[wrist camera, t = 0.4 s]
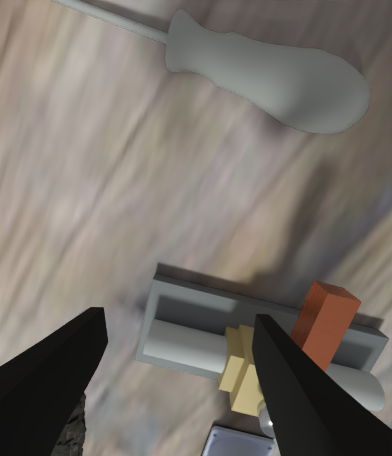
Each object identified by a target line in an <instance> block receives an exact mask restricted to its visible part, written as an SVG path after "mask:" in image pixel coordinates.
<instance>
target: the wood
mask: <svg viewBox="0 0 392 456" xmlns="http://www.w3.org/2000/svg"><path fill="white" fill-rule="evenodd" d="M85 399H86V396H85V395H84V393H83V395H82V397H81V398H80V400H79V402H78V404H77V406H76V407H75V409H74V411H73V413H72V415H71V416H70V418H69V420H68V422H67V424H66V425H65V427H64V429H63V431H62V433H61V435H60V437H59V439H58V441H57V443H56V445H55V447H54V449H53V451H52V453H51V455H50V456H82V452H83V448H82V446H83V443H84V438H85V432H86V427H85V423H84V413H83V412H84V405H85Z"/></svg>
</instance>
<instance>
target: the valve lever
mask: <svg viewBox="0 0 392 456" xmlns="http://www.w3.org/2000/svg"><path fill="white" fill-rule="evenodd" d="M360 304H361V301H360V300H359V299H357V298H356V297H355V296H353V295H352V294H351V293H349V292H348V291H347V290H345V289H344V288H341V287H337V286H333V285H330V284H326V283H322V282H318V281H314V282H313V284H312V286H311V288H310V291H309V293H308V295H307V298H306V300H305V302H304V304H303V307H302V309H301V311H300V314H299V316H298V318H297V320H296V323H295V325H294V327H293V329H292V332H291V334H290V337H291V339H292V340H293V341H294V342H295V343H296V344H297V345H298V346H299V347H300V348H301V349H302V350H303V351H304V352H305V353H306V354H307V355H308V356H309V357H310V358H311V359H312V360H313V361H314V362H315V363H316V364H317V365H318V366H319V367H320V368H321V369H322V370H323V371H326V370H327V368H328V366H329V364H330V362H331V360H332V358H333V356H334V354H335V352H336V350H337V348H338V346H339V344H340V343H341V341H342V339H343V337H344V335H345V333H346V331H347V329H348V327H349V325H350V323H351V321H352V319H353V317H354V316H355V314H356V312H357V310H358V308H359V306H360ZM257 414H258V418H259V422H260V427H261V430H262V431H263V433H264V434H266V435H267V436H269V437H272V438H276V436H275V433H274V430H273V427H272V423H271V420H270V417H269V414H268V410H267V407H266V404H265V400H264V399H263V400H261V401H260V402H259V404H258V406H257Z"/></svg>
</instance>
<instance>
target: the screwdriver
mask: <svg viewBox="0 0 392 456" xmlns="http://www.w3.org/2000/svg"><path fill="white" fill-rule="evenodd" d="M51 1H54V2H56V3H59V4H62V5H64V6H67V7H69V8H72V9H75V10H77V11H80V12H82V13H85V14H88V15H90V16H93V17H95V18H98V19H101V20H103V21H106V22H109V23H111V24H114V25H116V26H119V27H122V28H124V29H127V30H129V31H132V32H135V33H137V34H140V35H143V36H145V37H148V38H150V39H153V40H156V41H158V42H161V43H163V44H166V55H165V63H166V67H167V70H168V71H171V72H175V73H177V72H184V71H189V72H195V73H198V74H200V75H203V76H205V77H206V78H208V79H210V80H211V82H212V83H213V84H214V85H215V86H217V87H219V88H222V89H224V90H227V91H230V92H232V93H235V94H237V95H239V96H241V97H243V98H245V99H247V100H248V101H250V102H252V103H253V104H255V105H256V106H258V107H259V108H261V109H262V110H264V111H265V112H267V113H269V114H270V115H271V116H273V117H274V118H276V119H277V120H278V121H280V122H281V123H282V124H284V125H287V126H290V127H293V128H295V129H298V130H301V131H304V132H311V133H318V134H335V133H340V132H343V131H344V130H346V129H348V128H349V127H351V126H352V125H354V124H355V123H357V122H358V121H359V120H360V119H361V118H362V117H363V116H364V115H365V113H366V112H367V110H368V107H369V100H370V94H371V88H370V86H369V84H368V82H367V81H366V79H365V78H364V77H363V76H362V75H361V74H360V73H359V72H358V70H357V69H356V68H355V67H353V66H352V65H351V64H349V63H348V62H347V61H346V60H344V59H343V58H341V57H339V56H336V55H334V54H331V53H329V52H326V51H324V50H321V49H317V48H300V47H292V46H284V45H276V44H268V43H264V42H261V41H257V40H253V39H251V38H248V37H245V36H243V35H240V34H237V33H235V32H229V33H225V34H223V33H217V32H213V31H211V30H208V29H205V28H203V27H202V26H201V25H199V24H198V23H197V22H196V21H195V20H194V19H193V18H192V17H191V15H190V14H189V13H188V12H187V11H185V10H183V9H179V10H177V11H176V12H175V14H174V16H173V18H172V20H171V23H170V26H169V30H168V34H167V33H165V32H162V31H159V30H157V29H154V28H151V27H149V26H146V25H144V24H141V23H138V22H136V21H133V20H131V19H128V18H125V17H123V16H120V15H117V14H115V13H112V12H110V11H107V10H104V9H102V8H99V7H97V6H94V5H91V4H89V3H86V2H83V1H81V0H51Z"/></svg>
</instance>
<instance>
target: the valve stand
mask: <svg viewBox="0 0 392 456" xmlns="http://www.w3.org/2000/svg"><path fill="white" fill-rule="evenodd" d="M300 311H301V310H298V309H294V308H290V307H286V306H282V305H278V304H274V303H270V302H266V301H262V300H258V299H254V298H250V297H246V296H242V295H239V294H235V293H231V292H227V291H223V290H219V289H215V288H211V287H207V286H203V285H199V284H195V283H191V282H187V281H183V280H179V279H175V278H171V277H167V276H163V275H159V274H155V276H154V278H153V280H152V285H151V290H150V294H149V299H148V303H147V308H146V312H145V317H144V321H143V326H142V331H141V335H140V340H139V344H138V349H137V353H136V358H135V360H136V361H140V362H144V363H148V364H152V365H156V366H161V367H165V368H169V369H173V370H177V371H181V372H185V373H189V374H193V375H197V376H201V377H205V378H209V379H213V380H218V386H219V390H223V391H228V392H229V394H230V403H231V410H232V411H236V412H240V413H244V414H249V415H253V416H257V417H258V414H257V406H258V404H259V402H260V401H261V400H263V399H264V397H263V394H262V391H261V387H260V384H259V381H258V377H257V374H256V369H255V364H254V359H253V354H252V341H253V333H254V325H255V317H256V314H269V315H270V316H271V317H272V318H273V319H274V320H275V321H276V322H277V323H278V324H279V326H280V327H281V328H282V329H283V330H284V331H285V332H286V333H287V334H288V335H289V336H290V334H291V332H292V329H293V327H294V325H295V323H296V320H297V318H298V316H299V314H300ZM388 340H389V338H388V337H387V336H385V335H384V334H383V333H382V332H381V331H380V330H377V329H373V328H369V327H365V326H361V325H357V324H354V323H350V325H349V327H348V329H347V331H346V333H345V335H344V337H343V339H342V341H341V343H340V344H339V346H338V348H337V350H336V352H335V354H334V356H333V358H332V360H331V362H330V364H329V366H328V368H327V370H326V371H324V372H325V373H326V374H327V375H328V376H330V377H331V378H332V379H333V380H334V381H335V382H336V383H337V384H338V385H339V386H340V387H342V388H343V389H344V390H345V391H346V392H347V393H348V394H350V395H351V396H352V397H353V398H354V399H355V400H357V401H358V402H359V403H360V404H361V405H362V406H364V407H365V408H366V409H369V410H373V411H380V410H382V409H383V407H384V404H385V395H384V391H383V388H382V386H381V384H380V383H379V381H378V380H377V379H376V377H375V376H373V375H372V374H371V373H370V371H371V369H372V368H373V366H374V364H375V363H376V361H377V359H378V357H379V356H380V354H381V352H382V351H383V349H384V347H385V346H386V344H387V342H388Z"/></svg>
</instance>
